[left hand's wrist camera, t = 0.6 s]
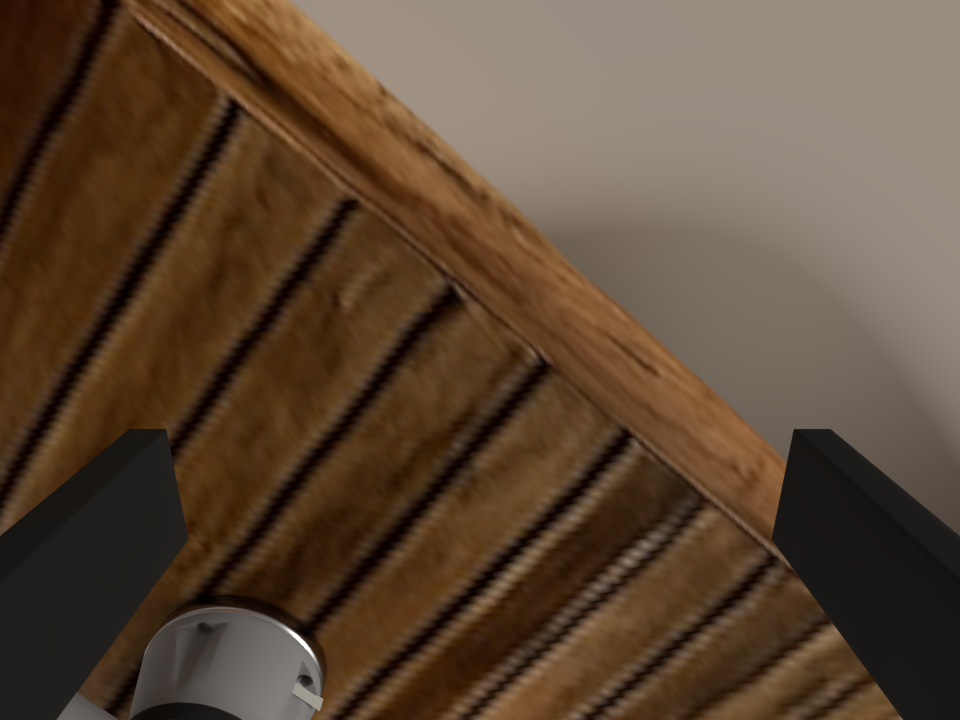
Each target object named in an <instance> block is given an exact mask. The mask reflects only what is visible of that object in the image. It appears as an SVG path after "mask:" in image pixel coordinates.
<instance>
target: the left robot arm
mask: <svg viewBox="0 0 960 720" xmlns="http://www.w3.org/2000/svg"><path fill="white" fill-rule="evenodd" d="M187 540H188V535H187V530H186V525H185V520H184V515H183V510H182V505H181V500H180V495H179V490H178V485H177V481H176V476H175V471H174V466H173V461H172V456H171V451H170V446H169V441H168V436H167V431H166V429H129V430H128V431H127V432H125V433H124V434H123V435H122V436H121V437H119V438H118V439H117V440H116V441H115V442H113V443H112V444H111V445H110V446H109V447H107V448H106V449H105V450H104V451H102V452H101V453H100V454H99V455H98V456H96V457H95V458H94V459H93V460H92V461H90V462H89V463H88V464H87V465H86V466H84V467H83V468H82V469H81V470H80V471H78V472H77V473H76V474H75V475H73V476H72V477H71V478H70V479H69V480H67V481H66V482H65V483H64V484H63V485H61V486H60V487H59V488H58V489H57V490H55V491H54V492H53V493H52V494H50V495H49V496H48V497H47V498H46V499H44V500H43V501H42V502H41V503H40V504H38V505H37V506H36V507H35V508H34V509H32V510H31V511H30V512H29V513H28V514H26V515H25V516H24V517H23V518H21V519H20V520H19V521H18V522H17V523H15V524H14V525H13V526H12V527H11V528H9V529H8V530H7V531H6V532H5V533H3V534H2V535H1V536H0V720H118V719H117V718H115V717H114V716H112V715H111V714H109V713H108V712H106V711H105V710H103V709H101V708H100V707H98V706H97V705H95V704H94V703H92V702H91V701H89V700H88V699H86V698H85V697H84V696H82V695H81V694H79V693H78V692H77V691H78V690H79V689H80V687H81V686H82V684H83V683H84V682H85V680H86V679H87V678H88V676H89V675H90V673H91V672H92V671H93V669H94V668H95V667H96V665H97V664H98V662H99V661H100V660H101V658H102V657H103V656H104V654H105V653H106V652H107V650H108V649H109V647H110V646H111V645H112V643H113V642H114V641H115V639H116V638H117V636H118V635H119V634H120V632H121V631H122V630H123V628H124V627H125V625H126V624H127V623H128V621H129V620H130V619H131V617H132V616H133V614H134V613H135V612H136V610H137V609H138V608H139V606H140V605H141V603H142V602H143V601H144V599H145V598H146V597H147V595H148V594H149V593H150V591H151V590H152V588H153V587H154V586H155V584H156V583H157V582H158V580H159V579H160V577H161V576H162V575H163V573H164V572H165V571H166V569H167V568H168V566H169V565H170V564H171V562H172V561H173V560H174V558H175V557H176V555H177V554H178V553H179V551H180V550H181V549H182V547H183V546H184V545H185V543H186V542H187ZM772 540H773V542H774V543H775V545H776V546H777V547H778V549H779V550H780V551H781V553H782V554H783V555H784V557H785V558H786V560H787V561H788V562H789V564H790V565H791V566H792V568H793V569H794V571H795V572H796V573H797V575H798V576H799V577H800V579H801V580H802V582H803V583H804V584H805V586H806V587H807V588H808V590H809V591H810V593H811V594H812V595H813V597H814V598H815V599H816V601H817V602H818V603H819V605H820V606H821V608H822V609H823V610H824V612H825V613H826V614H827V616H828V617H829V619H830V620H831V621H832V623H833V624H834V625H835V627H836V628H837V630H838V631H839V632H840V634H841V635H842V636H843V638H844V639H845V641H846V642H847V643H848V645H849V646H850V647H851V649H852V650H853V652H854V653H855V654H856V656H857V657H858V658H859V660H860V661H861V662H862V664H863V665H864V667H865V668H866V669H867V671H868V672H869V673H870V675H871V676H872V678H873V679H874V680H875V682H876V683H877V684H878V686H879V687H880V689H881V690H882V691H883V693H884V694H885V695H886V697H887V698H888V700H889V701H890V702H891V704H892V705H893V706H894V708H895V709H896V710H897V712H898V713H899V715H900V716H901V717H902V719H903V720H960V536H959V535H958V534H957V533H955V532H954V531H953V530H952V529H951V528H949V527H948V526H947V525H946V524H945V523H943V522H942V521H941V520H940V519H939V518H937V517H936V516H935V515H934V514H932V513H931V512H930V511H929V510H928V509H926V508H925V507H924V506H923V505H922V504H920V503H919V502H918V501H917V500H915V499H914V498H913V497H912V496H911V495H910V494H908V493H907V492H906V491H905V490H903V489H902V488H901V487H900V486H899V485H897V484H896V483H895V482H894V481H893V480H891V479H890V478H889V477H888V476H887V475H885V474H884V473H883V472H882V471H880V470H879V469H878V468H877V467H876V466H874V465H873V464H872V463H871V462H870V461H868V460H867V459H866V458H865V457H864V456H862V455H861V454H860V453H859V452H858V451H856V450H855V449H854V448H853V447H851V446H850V445H849V444H848V443H847V442H845V441H844V440H843V439H842V438H841V437H839V436H838V435H837V434H836V433H835V432H833V431H832V430H831V429H794V431H793V436H792V441H791V446H790V451H789V456H788V461H787V466H786V471H785V476H784V481H783V485H782V490H781V495H780V500H779V505H778V510H777V515H776V520H775V525H774V530H773V535H772ZM326 675H327V668H326V661H325V658H324V654H323V652H322V649H321V647H320V646H319V644H318V642H317V641H316V639H315V638H314V636H313V635H312V634H311V633H310V631H309V630H308V629H307V628H306V627H305V626H304V625H302V624H301V623H300V622H299V621H298V620H296V619H295V618H294V617H292V616H291V615H289V614H287V613H286V612H284V611H282V610H280V609H278V608H276V607H274V606H271V605H269V604H266V603H263V602H260V601H257V600H252V599H248V598H241V597H231V596H221V597H211V598H205V599H201V600H197V601H194V602H191V603H189V604H186V605H184V606H182V607H181V608H179V609H177V610H176V611H174V612H173V613H172V614H171V615H169V616H168V617H167V618H166V619H165V621H164V622H163V623H162V624H161V626H160V627H159V629H158V630H157V632H156V633H155V635H154V636H153V638H152V640H151V641H150V643H149V644H148V646H147V649H146V651H145V654H144V658H143V662H142V666H141V670H140V674H139V678H138V682H137V686H136V690H135V694H134V698H133V702H132V707H131V711H130V715H129V719H128V720H310V719H311V717H312V716H313V715H314V713H315V711H316V710H319V711H320V708H321V705H322V702H323V699H322V698H321V696H322V692H323V689H324V685H325V682H326Z"/></svg>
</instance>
